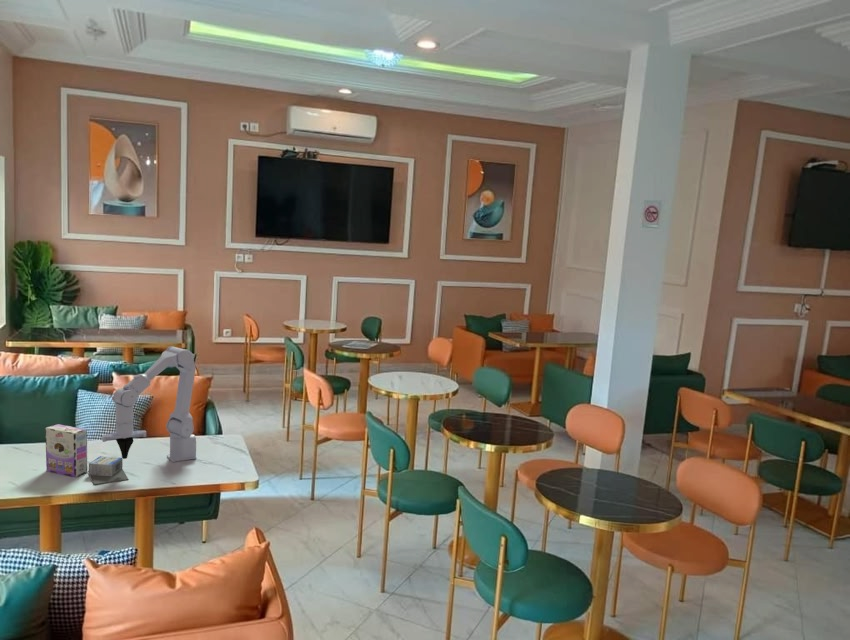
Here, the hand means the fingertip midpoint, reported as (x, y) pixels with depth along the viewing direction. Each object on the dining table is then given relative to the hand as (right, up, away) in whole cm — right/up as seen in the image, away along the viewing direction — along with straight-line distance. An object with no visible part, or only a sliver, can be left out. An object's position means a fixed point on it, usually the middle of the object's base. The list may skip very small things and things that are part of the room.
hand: (124, 457), depth 238 cm
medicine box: (-2, -3, 0) cm, 4 cm away
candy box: (-20, -5, -1) cm, 21 cm away
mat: (-5, -6, -2) cm, 8 cm away
